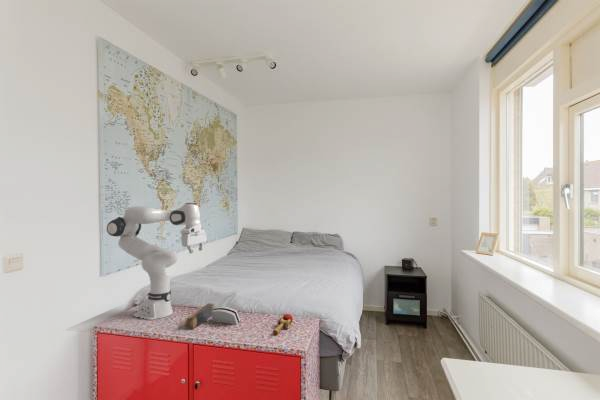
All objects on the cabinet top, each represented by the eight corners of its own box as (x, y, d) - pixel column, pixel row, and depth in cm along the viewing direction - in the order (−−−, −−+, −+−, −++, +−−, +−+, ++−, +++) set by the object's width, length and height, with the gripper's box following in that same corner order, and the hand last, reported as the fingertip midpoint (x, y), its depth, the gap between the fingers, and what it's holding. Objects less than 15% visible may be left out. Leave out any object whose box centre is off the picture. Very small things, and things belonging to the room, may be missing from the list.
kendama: (283, 339, 156) (297, 321, 172) (280, 327, 155) (294, 311, 172) (270, 339, 159) (285, 321, 175) (267, 327, 158) (282, 311, 175)
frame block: (186, 328, 165) (186, 318, 165) (208, 312, 188) (208, 303, 188) (193, 329, 164) (193, 318, 164) (214, 313, 188) (214, 303, 188)
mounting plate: (197, 326, 168) (197, 314, 168) (211, 315, 184) (211, 304, 184) (197, 326, 168) (197, 314, 168) (211, 315, 184) (211, 304, 184)
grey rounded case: (241, 321, 175) (238, 307, 172) (237, 327, 171) (234, 312, 168) (216, 317, 181) (213, 304, 177) (212, 323, 176) (209, 309, 173)
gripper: (199, 227, 193) (201, 249, 192) (178, 231, 173) (180, 255, 173) (208, 227, 191) (210, 248, 191) (187, 230, 171) (190, 254, 171)
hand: (196, 251), depth 181 cm, fingers open, 8 cm apart
